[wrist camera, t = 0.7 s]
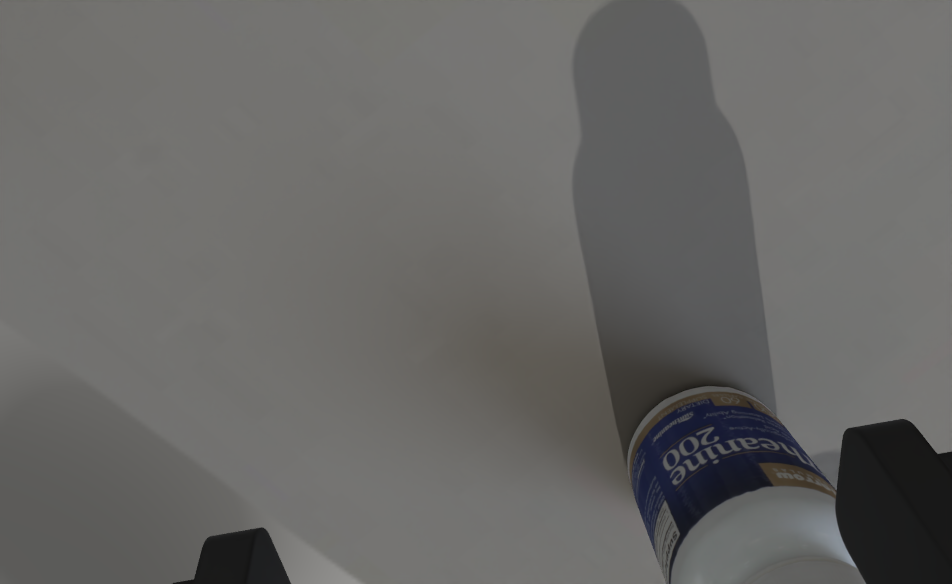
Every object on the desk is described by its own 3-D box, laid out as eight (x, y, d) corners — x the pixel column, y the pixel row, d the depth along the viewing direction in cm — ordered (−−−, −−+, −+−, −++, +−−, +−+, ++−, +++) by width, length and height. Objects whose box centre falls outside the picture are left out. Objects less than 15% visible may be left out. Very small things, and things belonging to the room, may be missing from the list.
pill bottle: (780, 370, 27) (949, 552, 18) (782, 510, 29) (938, 743, 19) (617, 391, 27) (701, 582, 18) (629, 530, 29) (711, 771, 19)
